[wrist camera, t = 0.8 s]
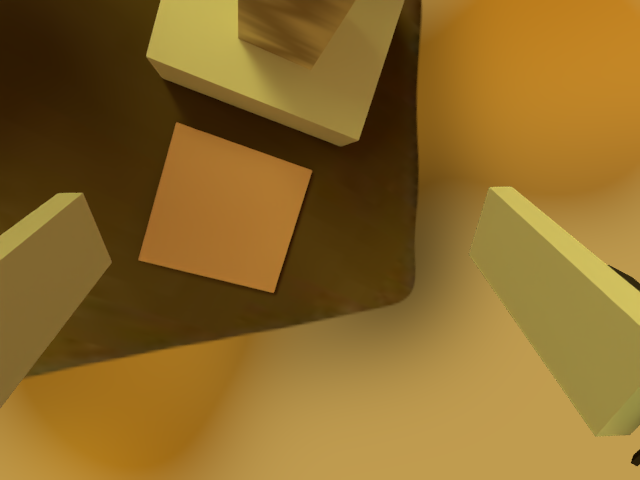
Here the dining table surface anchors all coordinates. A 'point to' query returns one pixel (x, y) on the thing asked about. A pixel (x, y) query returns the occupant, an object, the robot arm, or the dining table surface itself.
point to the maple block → (291, 26)
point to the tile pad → (224, 210)
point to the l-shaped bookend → (277, 65)
